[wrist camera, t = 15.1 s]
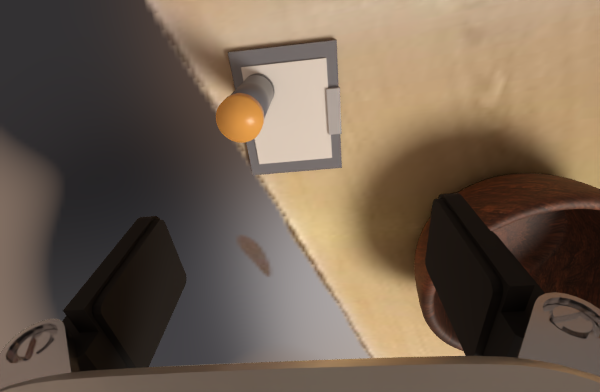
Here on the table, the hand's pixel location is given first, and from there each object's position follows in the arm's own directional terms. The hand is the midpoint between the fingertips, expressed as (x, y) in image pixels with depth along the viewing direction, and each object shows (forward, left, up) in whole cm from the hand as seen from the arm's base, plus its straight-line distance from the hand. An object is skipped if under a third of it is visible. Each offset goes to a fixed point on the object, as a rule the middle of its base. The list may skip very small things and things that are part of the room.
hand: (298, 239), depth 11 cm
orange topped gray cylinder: (+5, 0, -26) cm, 26 cm away
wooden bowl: (-24, +23, -27) cm, 43 cm away
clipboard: (+2, +3, -26) cm, 27 cm away
